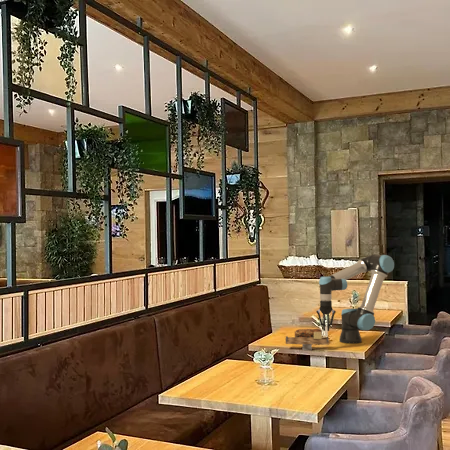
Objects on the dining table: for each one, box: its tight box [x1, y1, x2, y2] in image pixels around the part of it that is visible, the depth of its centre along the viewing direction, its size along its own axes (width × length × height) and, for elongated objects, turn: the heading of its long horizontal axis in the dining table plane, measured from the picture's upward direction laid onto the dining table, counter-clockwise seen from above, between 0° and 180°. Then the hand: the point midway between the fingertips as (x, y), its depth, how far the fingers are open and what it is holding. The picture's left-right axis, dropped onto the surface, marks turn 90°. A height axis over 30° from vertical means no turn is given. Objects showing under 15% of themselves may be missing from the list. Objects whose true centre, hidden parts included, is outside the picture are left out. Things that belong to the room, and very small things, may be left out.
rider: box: [314, 332, 323, 339], centre depth 365 cm, size 5×6×5 cm
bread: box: [294, 328, 323, 338], centre depth 385 cm, size 19×11×10 cm, turn 78°
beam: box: [285, 335, 330, 352], centre depth 366 cm, size 28×8×8 cm, turn 81°
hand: (326, 335), depth 364 cm, fingers closed
